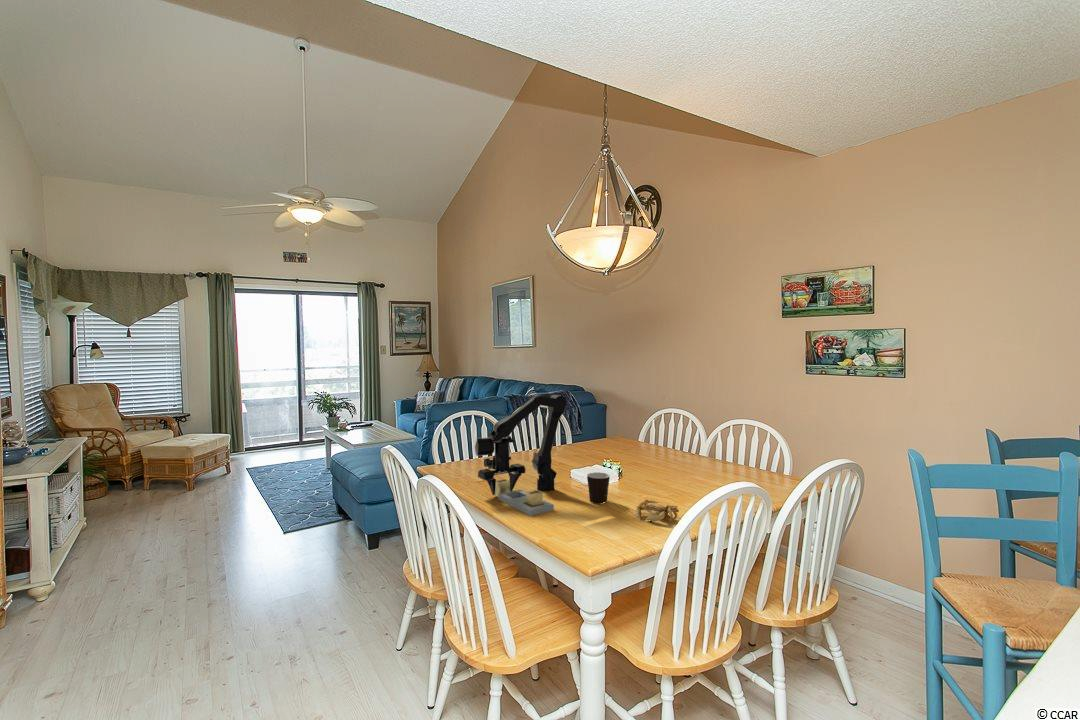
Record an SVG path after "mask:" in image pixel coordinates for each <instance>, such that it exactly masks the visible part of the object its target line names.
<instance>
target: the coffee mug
mask: <svg viewBox="0 0 1080 720" xmlns="http://www.w3.org/2000/svg"><path fill="white" fill-rule="evenodd" d="M610 477H611V475H610V474H608V473H606V472H597V471H596V472H594V471H593V472H590V473H587V474H586V479H587V485H588V486H587V488H588V496H589V497H588V498H589V502H590V501H591V502H593V503H592V504H594V503H603V502H606V501H607V502H608V493H609V485H610V484H609V483H610ZM591 502H590V503H591ZM607 502H606V503H607Z"/></svg>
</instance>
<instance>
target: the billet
mask: <svg viewBox="0 0 1080 720" xmlns="http://www.w3.org/2000/svg"><path fill="white" fill-rule="evenodd" d="M506 492H511V491H510V480H508V479H506V478H500V479H496V487H495V495H494V497H497V498H498V494H501V493H506Z"/></svg>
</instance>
